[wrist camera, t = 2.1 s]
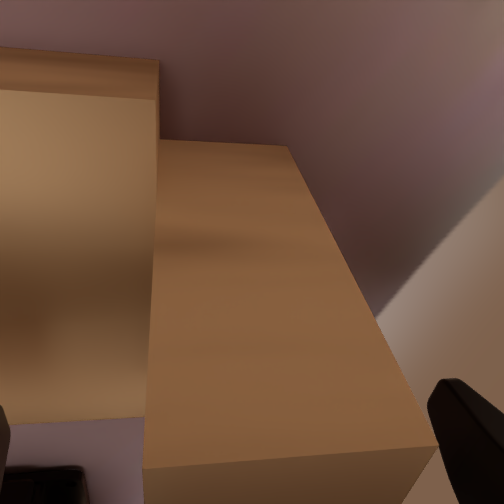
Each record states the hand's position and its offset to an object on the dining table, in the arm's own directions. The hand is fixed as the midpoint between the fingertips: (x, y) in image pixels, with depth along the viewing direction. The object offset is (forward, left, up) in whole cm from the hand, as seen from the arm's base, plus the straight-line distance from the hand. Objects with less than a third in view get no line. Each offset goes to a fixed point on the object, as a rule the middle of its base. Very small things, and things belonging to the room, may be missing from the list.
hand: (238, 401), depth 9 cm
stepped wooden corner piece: (0, +2, -6) cm, 7 cm away
